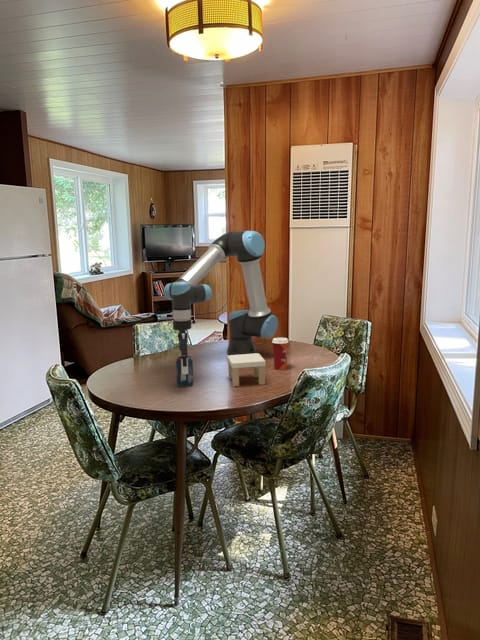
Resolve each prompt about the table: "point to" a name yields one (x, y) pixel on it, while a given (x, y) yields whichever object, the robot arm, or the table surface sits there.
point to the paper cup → (280, 353)
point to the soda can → (184, 378)
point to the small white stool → (246, 361)
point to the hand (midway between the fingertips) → (184, 369)
